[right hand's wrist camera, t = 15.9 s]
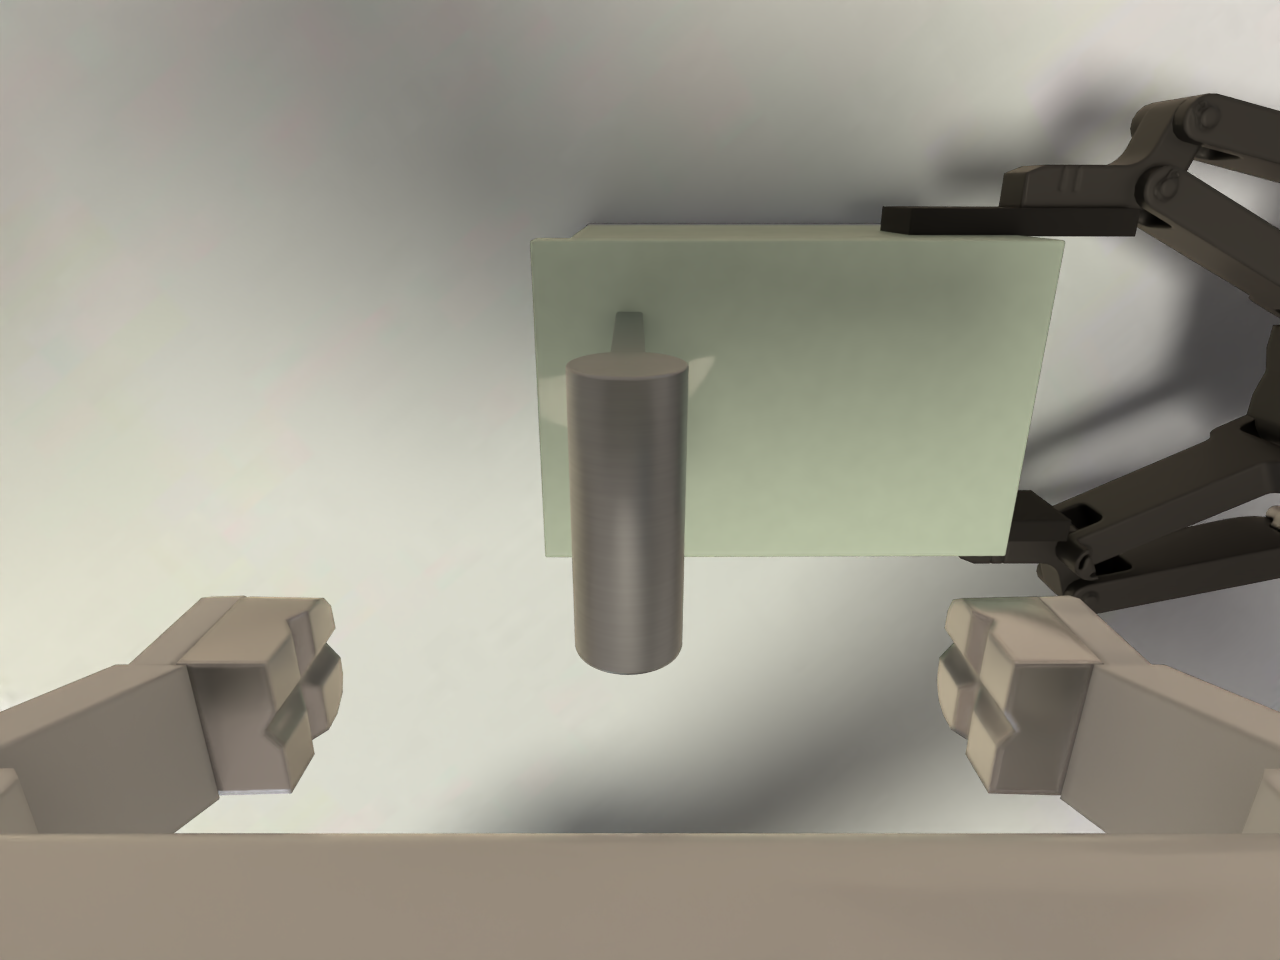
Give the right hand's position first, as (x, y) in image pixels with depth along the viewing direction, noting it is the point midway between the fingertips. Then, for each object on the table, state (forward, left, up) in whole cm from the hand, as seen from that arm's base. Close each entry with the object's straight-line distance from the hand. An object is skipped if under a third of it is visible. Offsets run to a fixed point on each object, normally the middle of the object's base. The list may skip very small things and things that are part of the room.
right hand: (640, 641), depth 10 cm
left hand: (+4, +7, -15) cm, 17 cm away
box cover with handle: (+2, +3, -13) cm, 13 cm away
